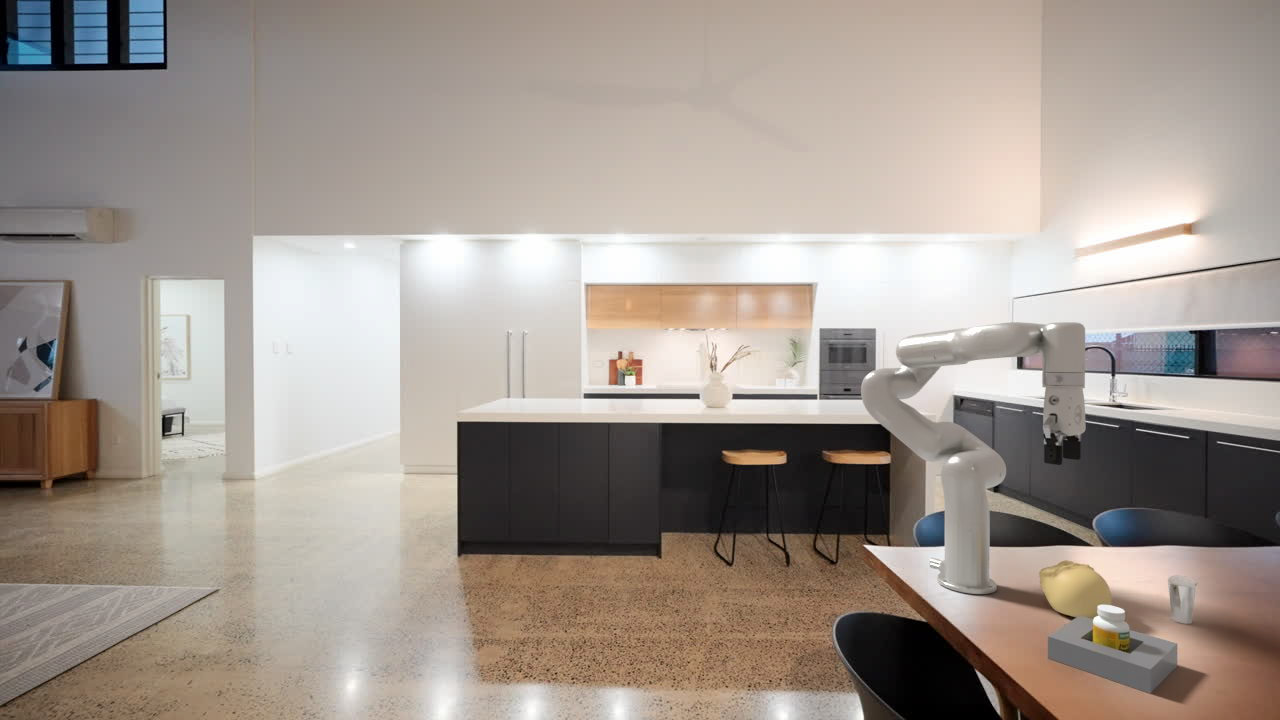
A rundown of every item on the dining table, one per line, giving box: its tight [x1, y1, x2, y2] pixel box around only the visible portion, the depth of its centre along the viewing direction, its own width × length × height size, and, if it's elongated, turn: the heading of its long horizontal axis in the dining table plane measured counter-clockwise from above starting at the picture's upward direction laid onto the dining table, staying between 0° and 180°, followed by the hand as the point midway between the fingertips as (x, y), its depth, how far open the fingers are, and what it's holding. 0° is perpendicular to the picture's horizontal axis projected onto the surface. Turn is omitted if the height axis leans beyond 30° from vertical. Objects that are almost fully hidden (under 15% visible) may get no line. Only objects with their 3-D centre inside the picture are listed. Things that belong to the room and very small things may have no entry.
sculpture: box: [1038, 560, 1113, 619], centre depth 135 cm, size 11×12×11 cm
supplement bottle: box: [1093, 604, 1131, 654], centre depth 114 cm, size 5×5×10 cm
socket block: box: [1047, 616, 1178, 695], centre depth 114 cm, size 15×15×4 cm
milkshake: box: [1167, 574, 1202, 625], centre depth 131 cm, size 4×5×10 cm
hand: (1062, 461), depth 135 cm, fingers open, 9 cm apart
